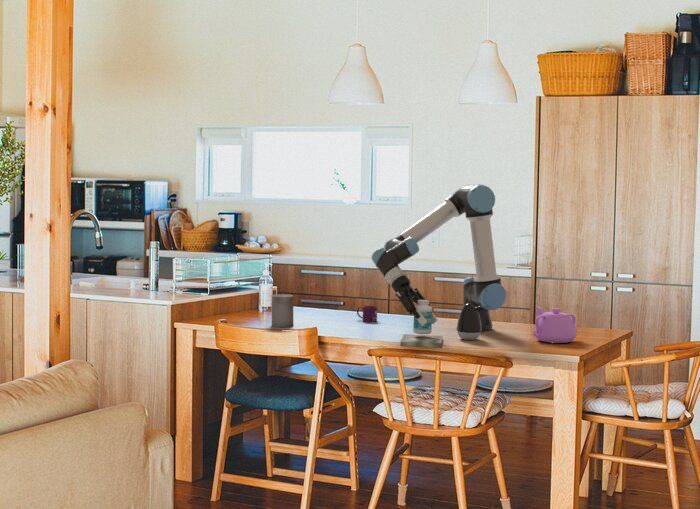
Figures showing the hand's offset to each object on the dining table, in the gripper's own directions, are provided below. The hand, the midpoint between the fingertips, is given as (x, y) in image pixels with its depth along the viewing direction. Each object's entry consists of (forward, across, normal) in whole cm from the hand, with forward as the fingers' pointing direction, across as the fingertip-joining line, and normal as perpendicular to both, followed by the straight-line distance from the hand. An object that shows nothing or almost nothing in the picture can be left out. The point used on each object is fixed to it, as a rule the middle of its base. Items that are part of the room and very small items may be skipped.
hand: (430, 322), depth 381 cm
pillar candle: (-44, +10, -55) cm, 72 cm away
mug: (-32, -31, -44) cm, 62 cm away
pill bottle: (+1, 0, -6) cm, 6 cm away
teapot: (+31, -39, +20) cm, 53 cm away
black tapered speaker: (+12, -16, +1) cm, 20 cm away
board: (+5, +4, -6) cm, 9 cm away
